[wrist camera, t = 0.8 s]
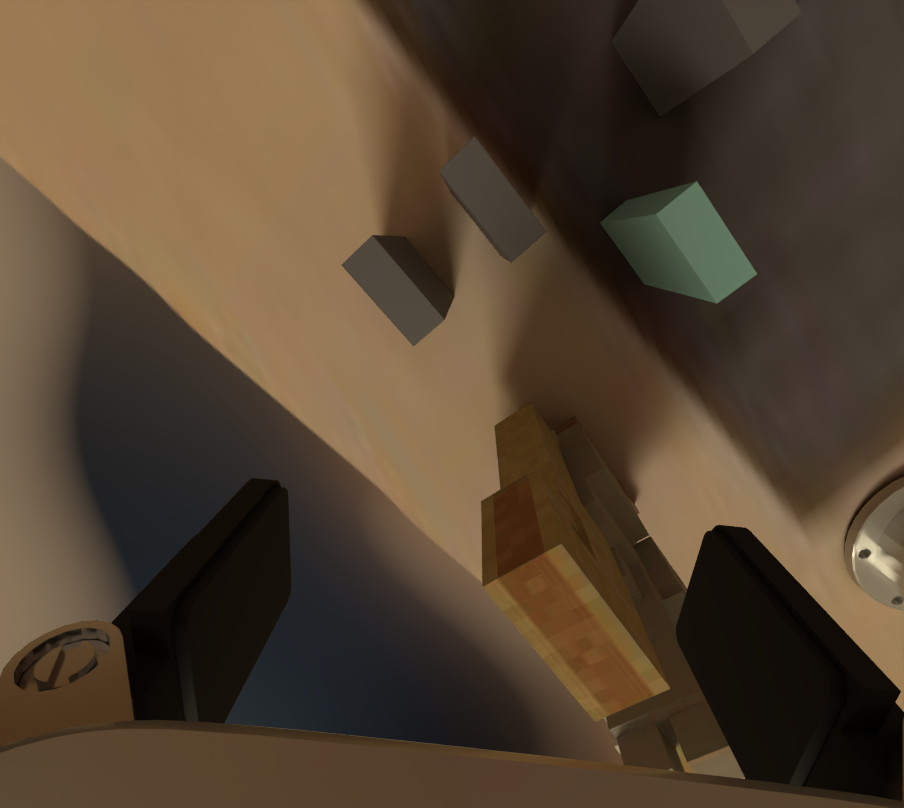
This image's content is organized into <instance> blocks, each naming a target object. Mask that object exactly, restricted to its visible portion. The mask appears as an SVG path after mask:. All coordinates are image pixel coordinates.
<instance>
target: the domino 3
mask: <svg viewBox="0 0 904 808" xmlns="http://www.w3.org/2000/svg"><path fill="white" fill-rule="evenodd" d="M800 13H802V12H801V10H800V9H799V7H798V5H797V3H796V1H795V0H639V1H638V2H637V4H636V5H635V7H634V8H633V10H632V11H631V13H630V14H629V16H628V17H627V19H626V20H625V22H624V23H623V25H622V26H621V27H620V29H619V30H618V32H617V33H616V35H615V36H614V38H613V39H612V41H611V42H612V44H613V45H614V47H615V49H616V50H617V52H618V53H619V55H620V56H621V58H622V59H623V61H624V62H625V64H626V66H627V67H628V69H629V70H630V72H631V73H632V75H633V76H634V78H635V79H636V81H637V83H638V84H639V86H640V87H641V89H642V90H643V92H644V93H645V95H646V96H647V98H648V100H649V101H650V103H651V104H652V106H653V107H654V109H655V110H656V112H657V113H658V115H659V117H661V116H663V115H664V114H665V113H667V112H668V111H670V110H671V109H673V108H674V107H676V106H677V105H679V104H680V103H682V102H683V101H685V100H686V99H688V98H689V97H691V96H692V95H694V94H695V93H697V92H698V91H699V90H701V89H702V88H704V87H705V86H707V85H708V84H710V83H711V82H713V81H714V80H716V79H717V78H719V77H720V76H722V75H723V74H725V73H726V72H728V71H729V70H731V69H732V68H733V67H735V66H736V65H738V64H739V63H741V62H742V61H744V60H745V59H747V58H748V57H750V56H751V55H753V54H754V53H755V52H756V51H757V50H759V49H760V48H761V47H762V46H763V45H764V44H766V43H767V42H768V41H769V40H770V39H771V38H773V37H774V36H775V35H776V34H777V33H778V32H780V31H781V30H782V29H783V28H784V27H785V26H786V25H788V24H789V23H790V22H791V21H792V20H793V19H795V18H796V17H797V16H798V15H799V14H800Z"/></svg>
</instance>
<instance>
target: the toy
mask: <svg viewBox="0 0 904 808" xmlns="http://www.w3.org/2000/svg"><path fill="white" fill-rule="evenodd" d="M495 435H496V445H497V456H498V467H499V478H500V488H501V490H499V491H497V492H496V493H494V494H492V495H491V496H489V497H487V498H486V499H484V500H482V501H481V512H482V581H483V588H484V589H485V590H486V591H487V593H488V594H489V595H490V596H491V597H492V599H493V600H494V601H495V602H496V603H497V605H498V606H499V607H500V608H501V609H502V611H503V612H504V613H505V614H506V615H507V617H508V618H509V619H510V620H511V621H512V623H513V624H514V625H515V626H516V627H517V629H518V630H519V631H520V632H521V633H522V635H523V636H524V637H525V638H526V639H527V641H528V642H529V643H530V644H531V645H532V647H533V648H534V649H535V650H536V651H537V652H538V654H539V655H540V656H541V657H542V658H543V660H544V661H545V662H546V663H547V664H548V666H549V667H550V668H551V669H552V671H553V672H554V673H555V674H556V675H557V677H558V678H559V679H560V680H561V681H562V682H563V684H564V685H565V686H566V687H567V689H568V690H569V691H570V692H571V693H572V695H573V696H574V697H575V698H576V699H577V701H578V702H579V703H580V704H581V705H582V706H583V708H584V709H585V710H586V711H587V712H588V714H589V715H590V716H591V717H592V718H593V720H594V721H598V720H600V719H602V718H604V719H605V720H606V722H607V723H608V726H609V730H610V733H611V736H612V740H613V744H614V747H615V748H616V749H617V750H618V752H619V753H620V754H621V756H622V760H623V764H624V765H628V766H637V767H646V768H654V769H663V770H671V771H680V772H688V773H697V774H706V775H714V776H723V777H731V778H740V779H741V778H743V777H744V775H743V773H742V771H741V769H740V767H739V765H738V763H737V761H736V759H735V757H734V755H733V753H732V751H731V749H730V747H729V745H728V743H727V741H726V739H725V737H724V735H723V733H722V731H721V729H720V727H719V725H718V723H717V721H716V719H715V717H714V715H713V713H712V711H711V709H710V707H709V705H708V703H707V701H706V699H705V697H704V695H703V693H702V691H701V689H700V687H699V685H698V683H697V681H696V679H695V677H694V675H693V673H692V671H691V669H690V667H689V665H688V663H687V661H686V659H685V657H684V655H683V653H682V650H681V648H680V646H679V644H678V642H677V638H676V625H677V621H678V618H679V615H680V612H681V608H682V605H683V602H684V599H685V596H686V592H687V588H686V587H685V585H684V584H683V582H682V581H681V579H680V578H679V576H678V575H677V573H676V572H675V570H673V568H672V567H671V565H670V564H669V562H668V561H667V559H666V558H665V557H664V555H663V554H662V552H661V551H660V549H659V548H658V546H657V545H656V543H655V542H654V541H653V539H652V538H651V536H650V537H648V538H646V539H644V540H643V541H641V542H639V543H637V541H639V540H641V539H643V538H645V537H647V536H648V535H649V534H648V532H647V530H646V529H645V527H644V525H643V524H642V522H641V520H640V518H639V517H638V515H637V514H639V511H638V509H637V508H636V506H635V504H634V503H633V501H632V500H631V498H630V497H629V495H628V494H627V493H626V491H625V490H624V488H623V487H622V485H621V484H620V482H619V481H618V479H617V478H616V476H615V475H614V473H613V472H612V471H611V469H610V468H609V466H608V465H607V463H606V462H605V460H604V459H603V457H602V456H601V454H600V453H599V451H598V450H597V449H596V447H595V446H594V444H593V443H592V441H591V440H590V438H589V437H588V435H587V434H586V432H585V431H584V429H583V428H582V427H581V425H580V424H579V422H578V421H577V419H576V418H575V417H573V418H572V419H570V420H568V421H567V422H565V423H564V424H562V425H560V426H559V427H557V428H555V429H554V430H552V431H551V430H550V429H549V427H548V426H547V424H546V423H545V422H544V420H543V419H542V417H541V416H540V415H539V413H538V412H537V410H536V409H535V407H534V406H533V405H532V403H530V404H528V405H526V406H525V407H523V408H522V409H520V410H519V411H517V412H516V413H514V414H512V415H511V416H509V417H508V418H506V419H505V420H503V421H501V422H500V423H498V424H497V425H495Z"/></svg>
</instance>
